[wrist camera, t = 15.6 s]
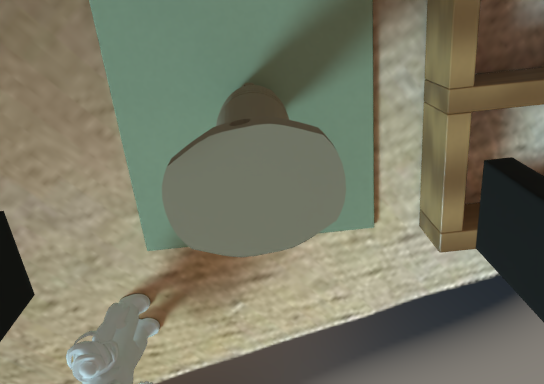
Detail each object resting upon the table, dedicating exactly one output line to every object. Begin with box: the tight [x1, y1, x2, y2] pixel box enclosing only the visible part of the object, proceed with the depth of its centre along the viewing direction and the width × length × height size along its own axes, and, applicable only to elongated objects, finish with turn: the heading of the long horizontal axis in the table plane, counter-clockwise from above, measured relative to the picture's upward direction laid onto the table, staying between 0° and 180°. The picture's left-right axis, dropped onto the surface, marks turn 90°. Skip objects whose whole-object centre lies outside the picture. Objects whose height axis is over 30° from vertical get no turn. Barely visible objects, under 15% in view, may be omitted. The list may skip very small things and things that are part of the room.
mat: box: [89, 0, 374, 251], centre depth 30 cm, size 20×17×1 cm
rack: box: [419, 0, 544, 252], centre depth 28 cm, size 20×11×4 cm, turn 5°
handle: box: [162, 83, 346, 257], centre depth 23 cm, size 5×6×15 cm
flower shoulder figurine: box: [66, 294, 160, 384], centre depth 30 cm, size 9×4×12 cm, turn 9°
